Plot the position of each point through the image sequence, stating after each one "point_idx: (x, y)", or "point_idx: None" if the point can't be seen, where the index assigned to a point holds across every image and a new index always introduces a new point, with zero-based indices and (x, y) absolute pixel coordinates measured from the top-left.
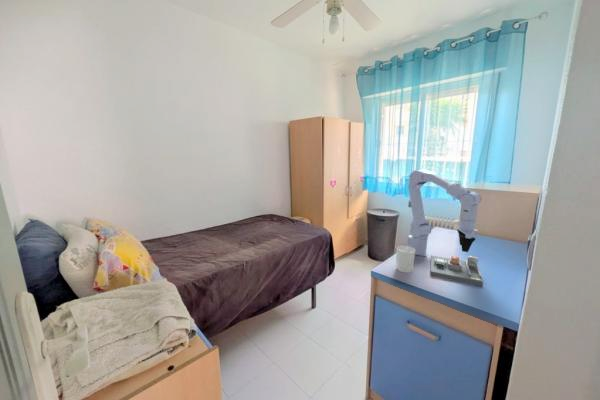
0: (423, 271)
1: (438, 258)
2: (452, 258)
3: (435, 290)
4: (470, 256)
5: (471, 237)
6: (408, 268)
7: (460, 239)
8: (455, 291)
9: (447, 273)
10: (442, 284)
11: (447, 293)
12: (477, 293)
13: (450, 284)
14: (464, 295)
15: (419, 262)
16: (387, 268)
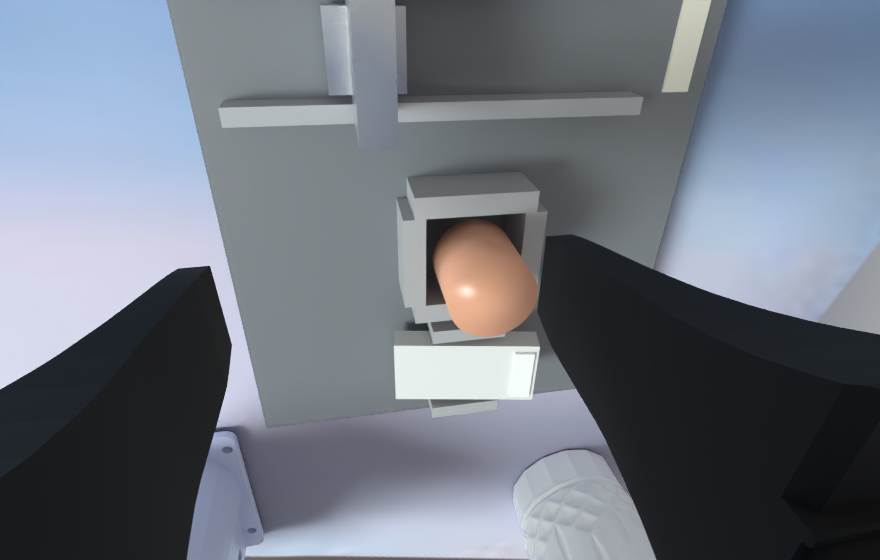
0: (552, 398)
1: (306, 369)
2: (517, 320)
3: (800, 310)
4: (371, 116)
5: (865, 481)
6: (620, 485)
7: (198, 450)
8: (806, 202)
9: None
10: (719, 281)
11: (832, 248)
12: (831, 41)
13: (711, 234)
14: (858, 146)
15: (399, 443)
16: None
